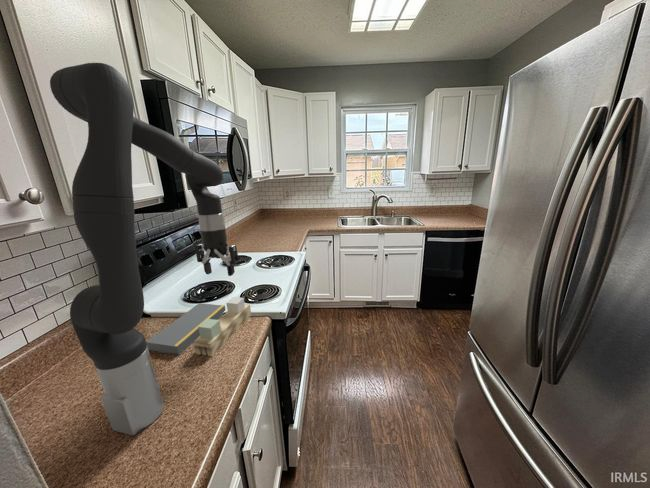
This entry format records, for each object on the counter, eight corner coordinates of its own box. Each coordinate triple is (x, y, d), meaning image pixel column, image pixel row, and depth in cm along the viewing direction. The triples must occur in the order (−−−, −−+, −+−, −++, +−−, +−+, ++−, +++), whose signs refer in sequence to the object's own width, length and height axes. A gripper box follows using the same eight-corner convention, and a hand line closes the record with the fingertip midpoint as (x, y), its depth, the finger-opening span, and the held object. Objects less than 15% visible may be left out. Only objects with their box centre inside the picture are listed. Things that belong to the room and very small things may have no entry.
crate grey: (238, 313, 95) (237, 303, 94) (227, 312, 96) (226, 302, 95) (245, 307, 99) (243, 297, 98) (234, 306, 100) (233, 297, 99)
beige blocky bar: (212, 357, 80) (210, 344, 79) (196, 354, 82) (193, 341, 80) (251, 315, 103) (249, 304, 101) (237, 313, 104) (236, 303, 103)
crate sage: (212, 339, 81) (210, 328, 80) (200, 337, 82) (198, 326, 81) (221, 330, 85) (219, 320, 84) (209, 329, 87) (207, 318, 85)
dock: (179, 354, 81) (176, 346, 81) (148, 349, 84) (145, 341, 83) (226, 312, 105) (224, 305, 104) (200, 309, 108) (199, 302, 107)
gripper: (185, 229, 82) (194, 277, 86) (225, 230, 78) (232, 280, 83) (201, 224, 89) (209, 269, 93) (238, 225, 85) (244, 271, 90)
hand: (220, 274), depth 88 cm, fingers open, 8 cm apart
